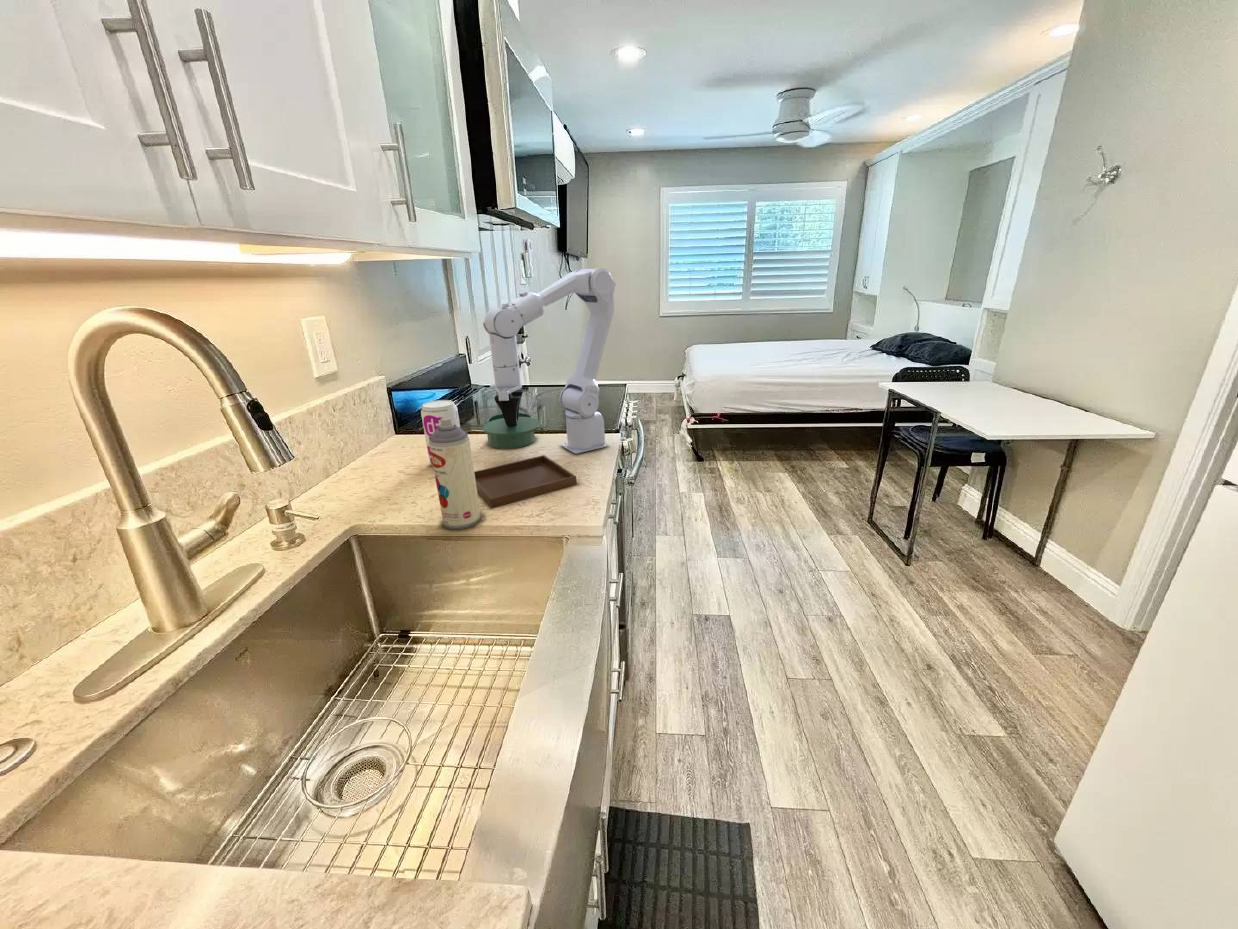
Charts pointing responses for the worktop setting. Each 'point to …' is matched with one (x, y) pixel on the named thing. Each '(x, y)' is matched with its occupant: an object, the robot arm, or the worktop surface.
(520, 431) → the tin lid
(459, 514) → the aerosol can
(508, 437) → the tin
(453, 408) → the supplement can
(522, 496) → the tray
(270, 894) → the worktop surface
